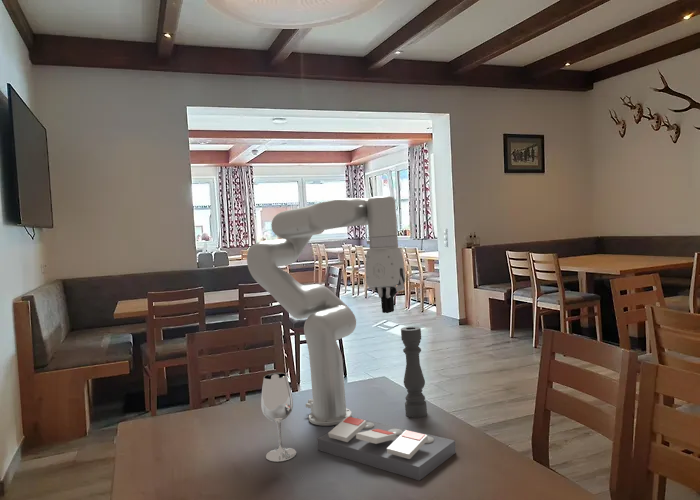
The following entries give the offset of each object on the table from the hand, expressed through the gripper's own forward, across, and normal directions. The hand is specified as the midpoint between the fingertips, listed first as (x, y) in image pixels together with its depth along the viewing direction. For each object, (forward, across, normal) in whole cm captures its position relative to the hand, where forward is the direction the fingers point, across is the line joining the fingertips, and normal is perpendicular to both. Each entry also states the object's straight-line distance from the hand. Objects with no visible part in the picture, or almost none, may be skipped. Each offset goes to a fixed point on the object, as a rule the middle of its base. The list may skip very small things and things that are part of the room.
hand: (388, 312), depth 140 cm
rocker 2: (+27, +5, -15) cm, 31 cm away
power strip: (+32, +3, -12) cm, 34 cm away
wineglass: (+32, -16, -27) cm, 45 cm away
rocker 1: (+27, -4, -15) cm, 31 cm away
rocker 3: (+27, +14, -15) cm, 34 cm away
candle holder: (+32, -2, +13) cm, 35 cm away
